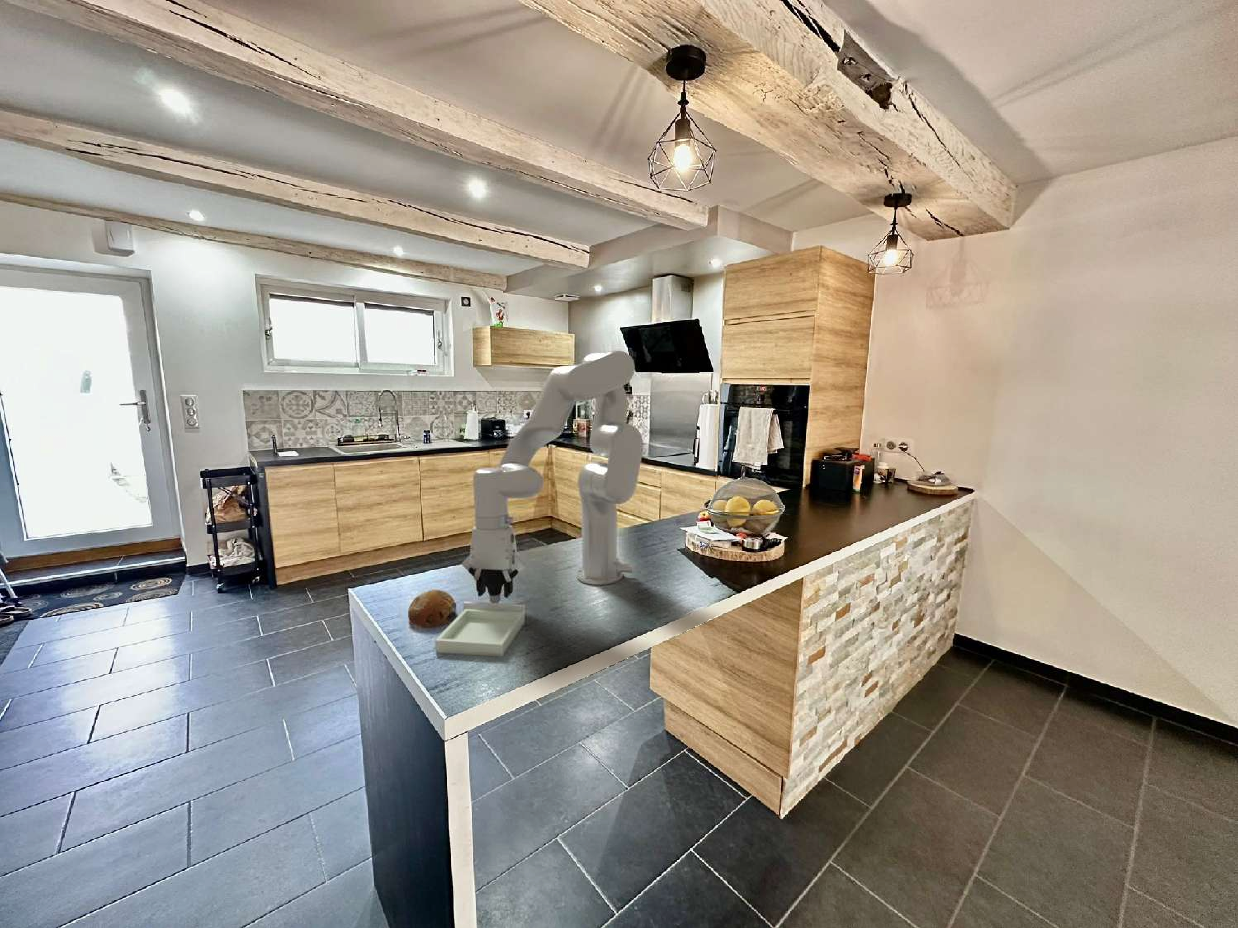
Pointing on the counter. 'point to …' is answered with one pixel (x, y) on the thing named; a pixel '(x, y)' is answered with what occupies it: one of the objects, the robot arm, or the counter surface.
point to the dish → (480, 633)
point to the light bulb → (493, 583)
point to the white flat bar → (494, 606)
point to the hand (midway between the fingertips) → (494, 594)
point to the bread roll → (432, 609)
